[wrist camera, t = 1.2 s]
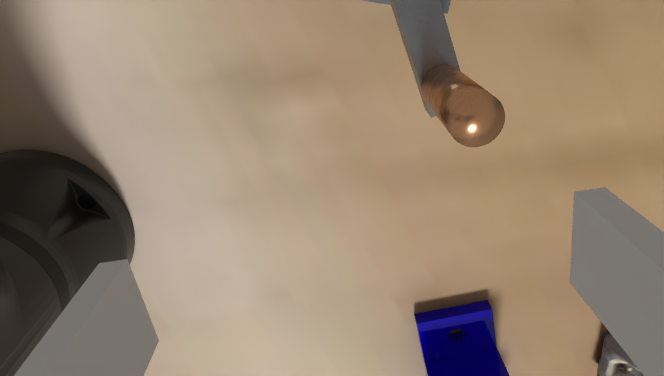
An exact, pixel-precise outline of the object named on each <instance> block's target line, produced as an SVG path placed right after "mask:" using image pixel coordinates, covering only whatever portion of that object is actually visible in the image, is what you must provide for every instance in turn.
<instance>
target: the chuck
mask: <svg viewBox="0 0 664 376" xmlns="http://www.w3.org/2000/svg"><path fill="white" fill-rule="evenodd" d="M390 3H391V6H392V10H393V13H394V16H395V19H396V22H397V25H398V28H399V31H400V34H401V37H402V40H403V43H404V46H405V49H406V52H407V55H408V58H409V61H410V64H411V67H412V70H413V73H414V76H415V79H416V83H417V86H418V89H419V92H420V95H421V98H422V101H423V104H424V107H425V109H426V111H427V112H428V114H429V115H430V116H431V118H432V117H434V116H437V117H438V118H439V120H440V121H441V122H442V123H443V125H444V126H445V127H446V129H447V130H448V131H449V133H450V134H451V135H452V136H453V138H454V139H455V140H456V141H457V142H458V143H460V144H462V145H464V146H468V147H479V146H483V145H486V144H488V143H489V142H491V141H492V140H494V139H495V138H496V137H497V136H498V135H499V133H500V132H501V130H502V128H503V125H504V122H505V112H504V108H503V106H502V104H501V102H500V101H499V100H498V99H497V98H496V97H494V96H493V95H492V94H490V93H489V92H488V91H486V90H485V89H484V88H482V87H481V86H480V85H478V84H477V83H475V82H474V81H473V80H471V79H470V78H469V77H467V76H466V75H465V74H463V73H462V72H461V71H460V68H459V65H458V61H457V58H456V54H455V51H454V47H453V44H452V41H451V37H450V34H449V30H448V27H447V23H446V20H445V16H444V13H443V9H442V6H441V3H440V0H390Z"/></svg>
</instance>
